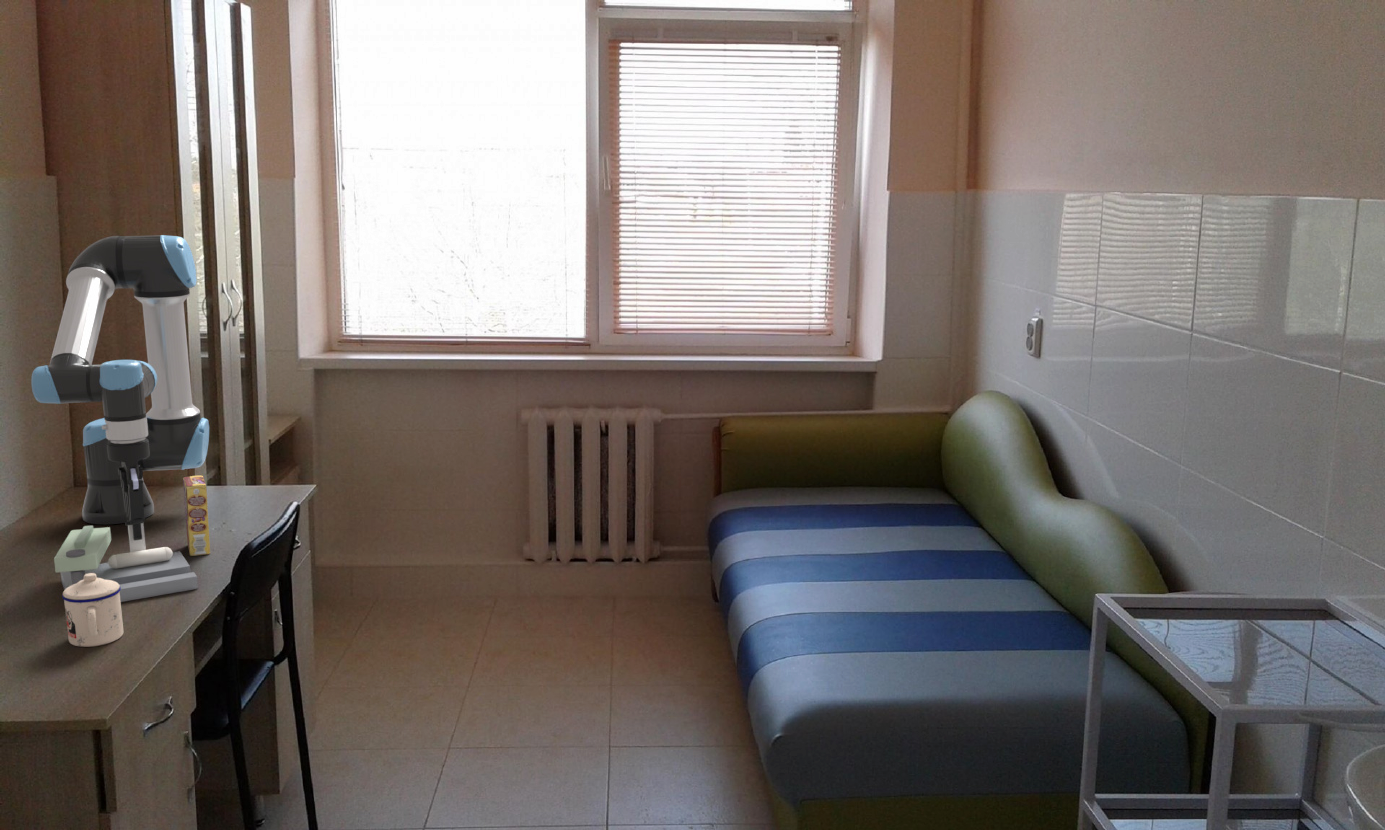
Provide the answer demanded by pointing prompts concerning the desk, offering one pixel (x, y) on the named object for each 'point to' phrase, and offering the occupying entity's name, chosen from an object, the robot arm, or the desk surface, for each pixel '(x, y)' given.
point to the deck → (142, 578)
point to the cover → (83, 549)
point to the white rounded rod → (140, 557)
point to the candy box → (196, 515)
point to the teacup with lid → (93, 611)
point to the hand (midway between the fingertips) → (138, 553)
